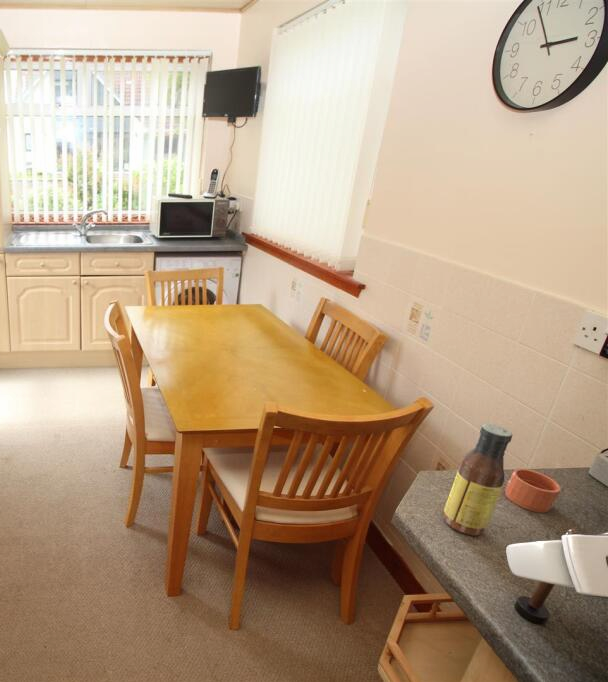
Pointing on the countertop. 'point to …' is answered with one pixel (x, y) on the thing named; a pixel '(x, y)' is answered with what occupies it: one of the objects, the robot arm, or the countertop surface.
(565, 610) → the countertop surface
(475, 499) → the sauce bottle
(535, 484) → the bowl
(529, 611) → the toilet plunger
